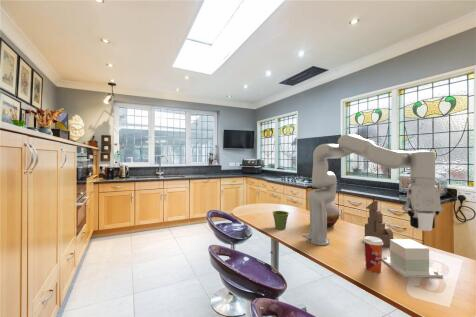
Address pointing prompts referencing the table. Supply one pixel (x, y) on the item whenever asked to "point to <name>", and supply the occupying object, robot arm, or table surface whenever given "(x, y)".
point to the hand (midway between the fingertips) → (422, 226)
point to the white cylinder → (425, 220)
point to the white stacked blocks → (409, 259)
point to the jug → (331, 214)
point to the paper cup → (373, 253)
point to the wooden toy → (377, 225)
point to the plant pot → (280, 219)
